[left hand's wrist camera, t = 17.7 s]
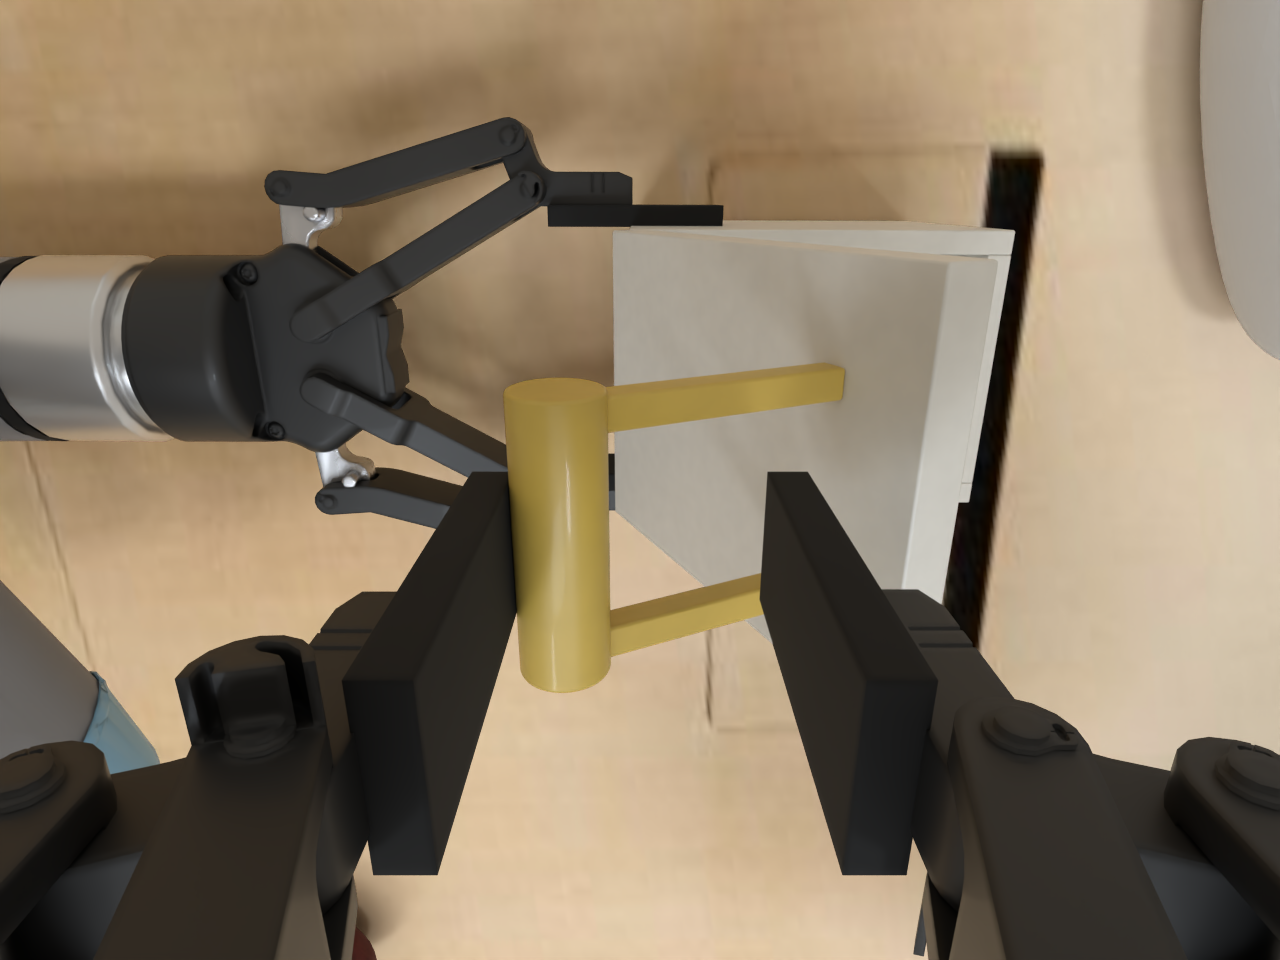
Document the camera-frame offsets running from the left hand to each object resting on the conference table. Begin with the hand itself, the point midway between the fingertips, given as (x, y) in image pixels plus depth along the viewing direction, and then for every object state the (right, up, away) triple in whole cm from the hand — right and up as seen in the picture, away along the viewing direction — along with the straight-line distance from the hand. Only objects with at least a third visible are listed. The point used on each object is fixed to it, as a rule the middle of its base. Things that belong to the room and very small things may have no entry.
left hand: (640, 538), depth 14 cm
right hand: (+3, +6, +17) cm, 18 cm away
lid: (+3, +3, +6) cm, 8 cm away
